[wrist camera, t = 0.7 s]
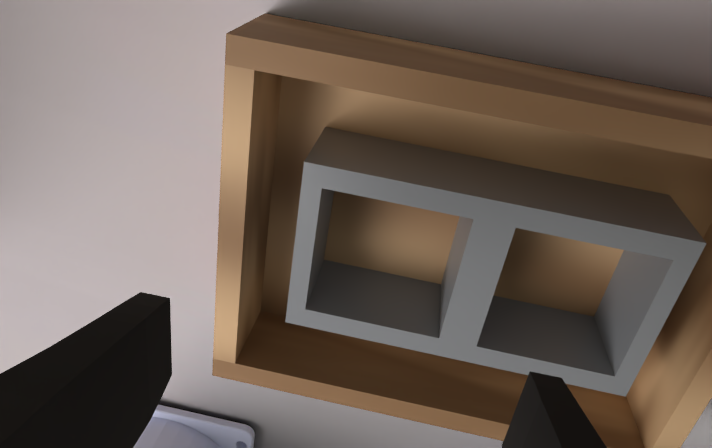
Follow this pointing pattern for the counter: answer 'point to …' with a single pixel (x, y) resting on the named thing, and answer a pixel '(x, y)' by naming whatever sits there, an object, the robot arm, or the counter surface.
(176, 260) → the counter surface
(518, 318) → the plate
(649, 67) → the counter surface
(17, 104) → the counter surface
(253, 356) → the tray box
